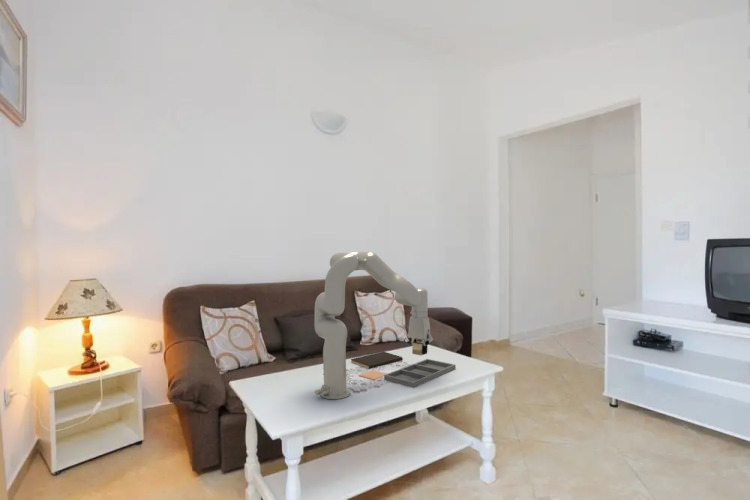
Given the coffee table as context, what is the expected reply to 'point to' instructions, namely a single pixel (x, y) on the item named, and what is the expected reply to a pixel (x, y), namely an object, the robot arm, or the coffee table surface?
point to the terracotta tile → (372, 375)
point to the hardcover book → (376, 360)
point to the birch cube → (417, 348)
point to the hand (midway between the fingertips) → (419, 352)
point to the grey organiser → (419, 372)
